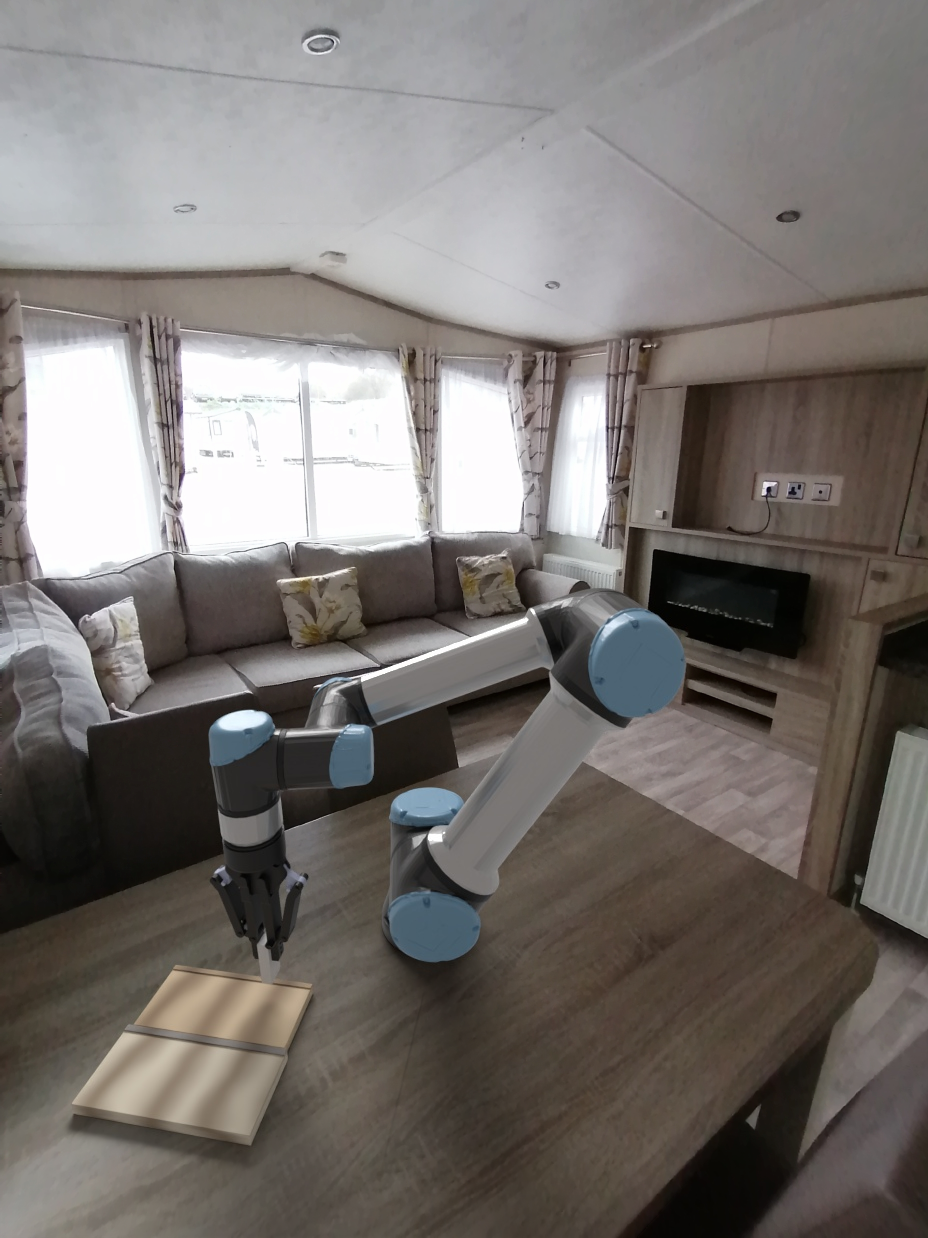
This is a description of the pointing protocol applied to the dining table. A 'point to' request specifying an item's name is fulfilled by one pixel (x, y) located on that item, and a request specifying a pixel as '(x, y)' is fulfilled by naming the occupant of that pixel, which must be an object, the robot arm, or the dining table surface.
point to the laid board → (184, 1084)
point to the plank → (228, 1006)
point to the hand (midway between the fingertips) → (271, 975)
